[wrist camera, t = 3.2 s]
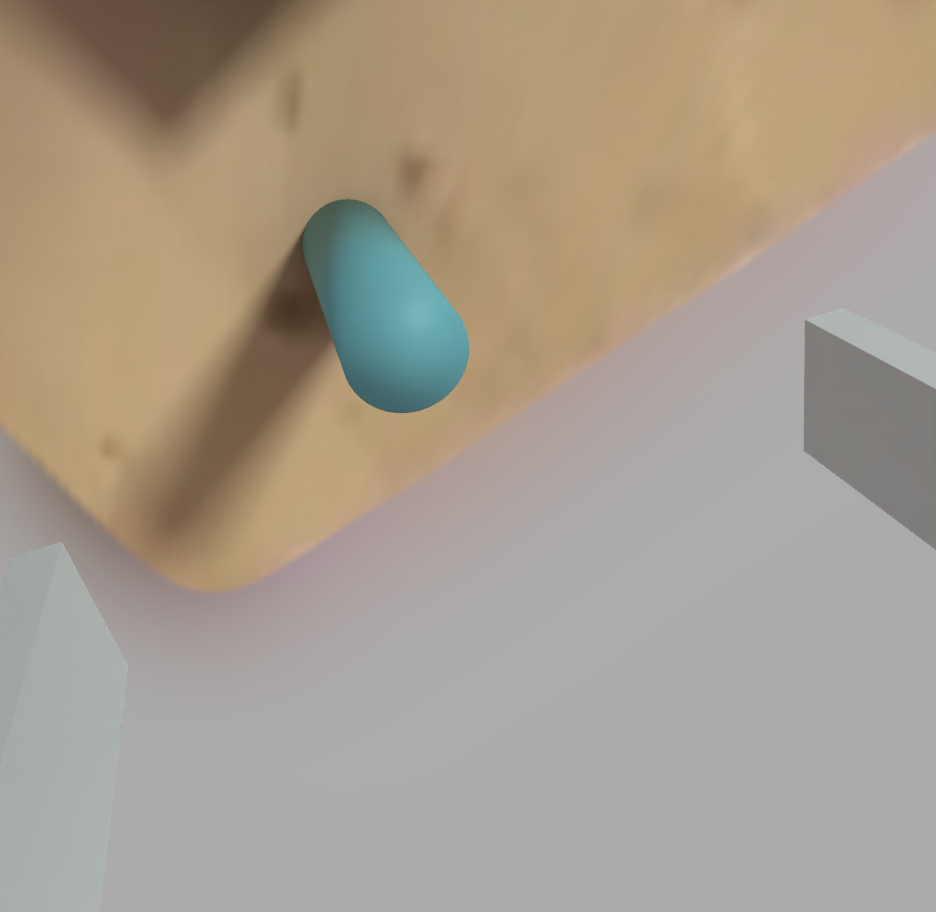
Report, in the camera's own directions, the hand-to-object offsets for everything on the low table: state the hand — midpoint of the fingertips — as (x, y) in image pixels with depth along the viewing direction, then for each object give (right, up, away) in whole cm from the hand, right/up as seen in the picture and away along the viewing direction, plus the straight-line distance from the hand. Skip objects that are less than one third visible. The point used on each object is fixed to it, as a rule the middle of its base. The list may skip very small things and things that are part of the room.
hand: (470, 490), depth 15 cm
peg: (-4, +8, +14) cm, 16 cm away
